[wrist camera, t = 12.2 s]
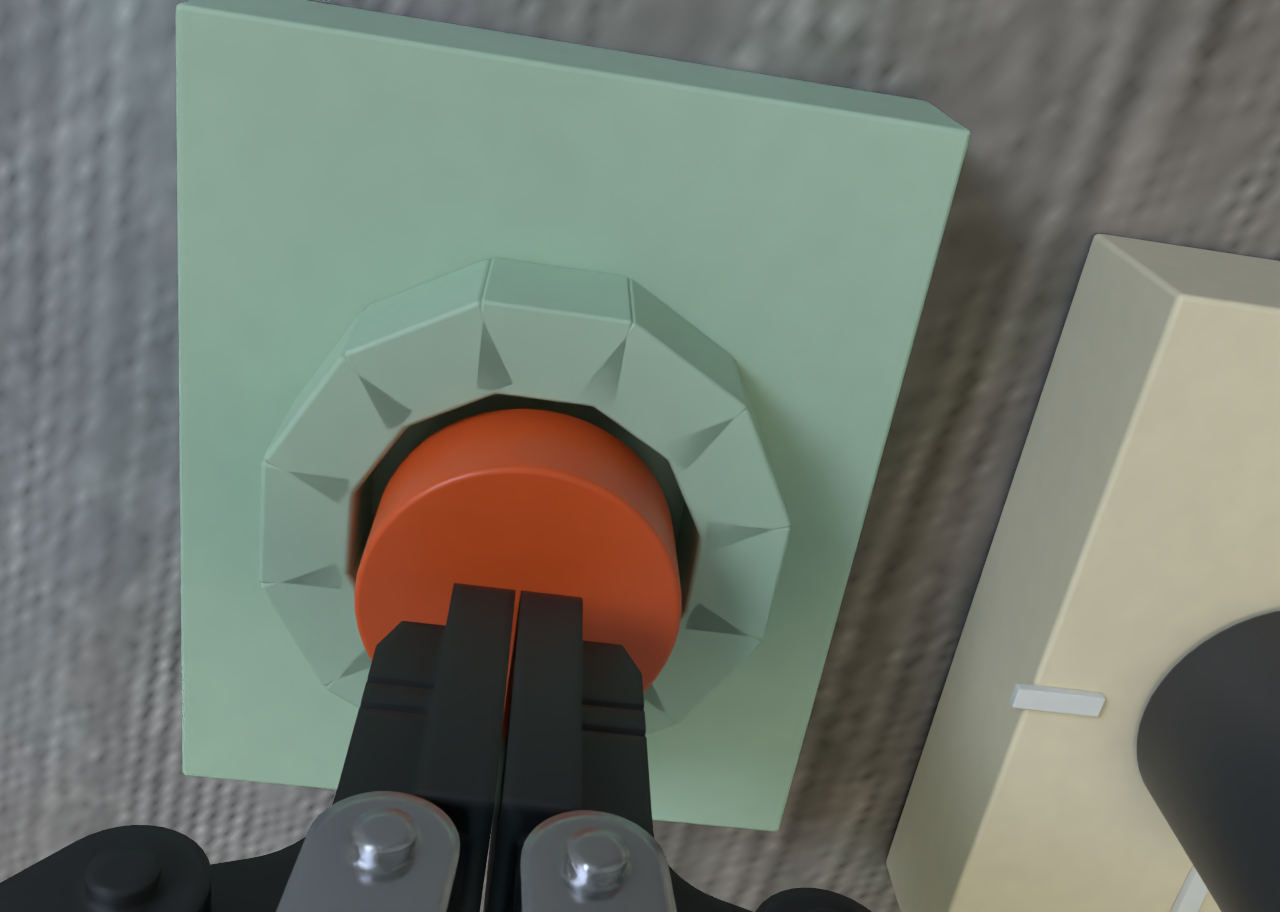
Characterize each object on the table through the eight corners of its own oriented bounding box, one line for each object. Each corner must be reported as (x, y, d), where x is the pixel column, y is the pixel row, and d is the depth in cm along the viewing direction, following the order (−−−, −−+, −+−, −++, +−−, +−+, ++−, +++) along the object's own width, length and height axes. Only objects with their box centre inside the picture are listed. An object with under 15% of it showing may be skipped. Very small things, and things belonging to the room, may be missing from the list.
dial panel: (1074, 227, 18) (1163, 294, 15) (1679, 321, 19) (1867, 398, 16) (869, 860, 24) (906, 994, 21) (1347, 905, 25) (1443, 1038, 22)
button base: (223, -14, 16) (120, 20, 13) (930, 101, 17) (1018, 161, 14) (218, 693, 21) (144, 859, 18) (762, 748, 22) (795, 916, 19)
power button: (386, 386, 15) (363, 447, 14) (697, 427, 16) (709, 490, 14) (367, 646, 17) (344, 727, 15) (648, 676, 17) (653, 758, 16)
